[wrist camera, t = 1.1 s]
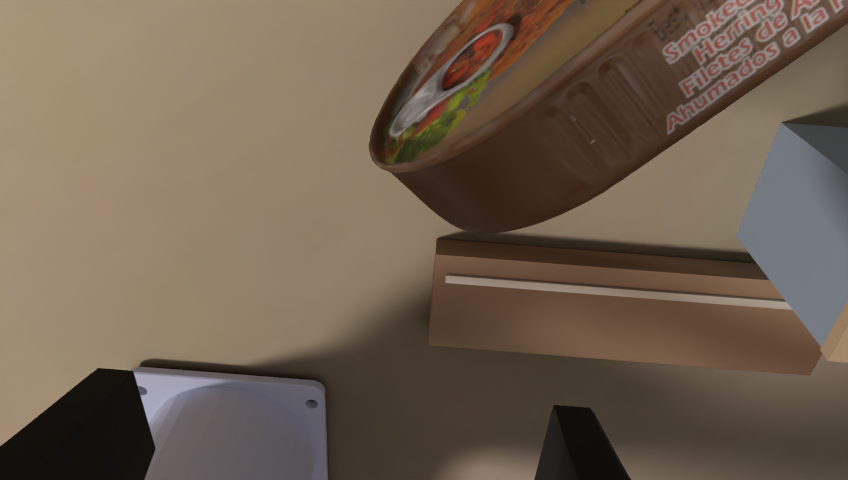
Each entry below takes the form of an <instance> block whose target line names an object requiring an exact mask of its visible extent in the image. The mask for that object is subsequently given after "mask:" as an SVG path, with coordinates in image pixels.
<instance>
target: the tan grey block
mask: <svg viewBox="0 0 848 480" xmlns="http://www.w3.org/2000/svg"><path fill="white" fill-rule="evenodd" d="M736 237H737V238H738V239H739V241H740V242H741V243H742V245H743V246H744V247H745V248H746V250H747V251H748V252H749V254H750V255H751V256H752V258H753V259H754V260H755V262H756V263H757V264H758V265H759V267H760V268H761V269H762V271H763V272H764V273H765V275H766V276H767V277H768V278H769V280H770V281H771V282H772V284H773V285H774V286H775V288H776V289H777V290H778V291H779V293H780V294H781V295H782V297H783V298H784V299H785V301H786V302H787V303H788V305H789V306H790V307H791V308H792V310H793V311H794V312H795V314H796V315H797V316H798V318H799V319H800V320H801V321H802V323H803V324H804V325H805V327H806V328H807V329H808V331H809V332H810V333H811V334H812V336H813V337H814V338H815V340H816V341H817V342H818V344H819V345H820V346H821V349H820V351H821V352H822V354H823V355H824V356H825V358H826V359H827V360H828V361H833V362H846V363H848V128H846V127H833V126H820V125H807V124H794V123H780V126H779V128H778V131H777V133H776V136H775V138H774V141H773V143H772V146H771V148H770V151H769V153H768V156H767V158H766V161H765V163H764V166H763V168H762V171H761V173H760V176H759V178H758V181H757V183H756V186H755V188H754V191H753V193H752V196H751V198H750V201H749V203H748V206H747V208H746V211H745V213H744V216H743V218H742V221H741V223H740V226H739V228H738V231H737V233H736Z"/></svg>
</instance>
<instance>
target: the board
mask: <svg viewBox="0 0 848 480" xmlns="http://www.w3.org/2000/svg"><path fill="white" fill-rule="evenodd" d="M428 346H440V347H453V348H465V349H478V350H491V351H504V352H517V353H529V354H542V355H555V356H568V357H581V358H594V359H606V360H619V361H632V362H645V363H658V364H670V365H683V366H696V367H709V368H722V369H734V370H747V371H760V372H773V373H786V374H798V375H810V374H811V373H812V371H813V369H814V367H815V365H816V364H817V362H818V360H819V358H820V357H821V355H822V352H821V351H820V349H821V346H820V345H819V344H818V342H817V341H816V340H815V338H814V337H813V336H812V334H811V333H810V332H809V331H808V329H807V328H806V327H805V325H804V324H803V323H802V321H801V320H800V319H799V318H798V316H797V315H796V314H795V312H794V311H793V310H792V308H791V307H790V306H789V305H788V303H787V302H786V301H785V299H784V298H783V297H782V295H781V294H780V293H779V291H778V290H777V289H776V288H775V286H774V285H773V284H772V282H771V281H770V280H769V278H768V277H767V276H766V275H765V273H764V272H763V271H762V269H761V268H760V267H759V265H758V264H757V263H745V262H732V261H719V260H706V259H693V258H680V257H667V256H654V255H641V254H629V253H616V252H603V251H590V250H577V249H564V248H551V247H538V246H525V245H512V244H499V243H487V242H474V241H461V240H448V239H437V242H436V253H435V265H434V276H433V287H432V299H431V310H430V321H429V335H428Z"/></svg>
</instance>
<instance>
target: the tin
mask: <svg viewBox="0 0 848 480" xmlns="http://www.w3.org/2000/svg"><path fill="white" fill-rule="evenodd" d="M847 23H848V0H463V1H462V2H461V3H460V4H459V5H458V6H457V7H456V8H455V10H454V11H453V12H452V13H451V14H450V15H449V16H448V17H447V18H446V20H445V21H444V22H443V23H442V24H441V25H440V26H439V27H438V28H437V30H436V31H435V32H434V33H433V34H432V35H431V36H430V38H429V39H428V40H427V41H426V42H425V43H424V45H423V46H422V47H421V48H420V50H419V51H418V52H417V54H416V55H415V56H414V57H413V58H412V59H411V61H410V63H409V64H408V66H407V67H406V69H405V70H404V71H403V73H402V74H401V75H400V77H399V79H398V80H397V82H396V84H395V85H394V87H393V88H392V90H391V91H390V93H389V95H388V97H387V98H386V100H385V102H384V104H383V106H382V108H381V110H380V113H379V114H378V116H377V118H376V120H375V123H374V126H373V128H372V132H371V135H370V142H369V151H370V156H371V158H372V160H373V162H374V163H375V164H376V165H377V166H378V167H380V168H381V169H383V170H386V171H389V172H391V173H392V174H393V175H394V176H395V177H396V178H398V179H399V180H400V181H401V182H402V183H403V184H404V185H405V186H406V187H407V188H408V189H409V190H411V191H412V192H413V193H414V194H415V195H416V196H417V197H418V198H419V199H420V200H421V201H422V202H423V203H425V204H426V205H427V206H428V207H429V208H430V209H432V210H433V211H434V212H435V213H436V214H437V215H439V216H440V217H442V218H443V219H444V220H446V221H447V222H449V223H450V224H452V225H454V226H456V227H458V228H460V229H463V230H466V231H471V232H477V233H499V232H507V231H512V230H517V229H521V228H525V227H528V226H532V225H535V224H538V223H541V222H544V221H546V220H549V219H551V218H554V217H556V216H559V215H561V214H563V213H565V212H567V211H569V210H571V209H573V208H575V207H577V206H580V205H582V204H584V203H585V202H587V201H589V200H591V199H593V198H594V197H596V196H598V195H600V194H601V193H603V192H605V191H606V190H608V189H609V188H610V187H612V186H613V185H615V184H616V183H618V182H620V181H621V180H623V179H624V178H626V177H627V176H628V175H630V174H631V173H633V172H634V171H636V170H637V169H639V168H640V167H641V166H643V165H644V164H646V163H647V162H649V161H650V160H652V159H653V158H654V157H656V156H657V155H659V154H660V153H661V152H663V151H664V150H666V149H667V148H669V147H670V146H672V145H673V144H675V143H676V142H678V141H679V140H681V139H682V138H684V137H685V136H686V135H688V134H689V133H691V132H692V131H693V130H695V129H696V128H697V127H699V126H701V125H702V124H704V123H705V122H707V121H708V120H709V119H711V118H712V117H713V116H715V115H717V114H718V113H720V112H721V111H723V110H724V109H725V108H727V107H728V106H730V105H731V104H732V103H734V102H735V101H737V100H738V99H739V98H741V97H742V96H744V95H745V94H746V93H748V92H749V91H751V90H752V89H754V88H755V87H757V86H759V85H760V84H761V83H763V82H764V81H765V80H767V79H768V78H769V77H771V76H772V75H774V74H775V73H777V72H778V71H780V70H782V69H783V68H784V67H786V66H787V65H789V64H790V63H792V62H793V61H794V60H796V59H797V58H799V57H800V56H801V55H803V54H804V53H806V52H807V51H808V50H810V49H811V48H813V47H814V46H816V45H817V44H819V43H820V42H822V41H823V40H824V39H826V38H827V37H829V36H830V35H831V34H833V33H834V32H836V31H837V30H838V29H840V28H841V27H843V26H844V25H845V24H847Z"/></svg>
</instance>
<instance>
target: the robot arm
mask: <svg viewBox="0 0 848 480" xmlns="http://www.w3.org/2000/svg"><path fill="white" fill-rule="evenodd" d="M143 387H144V388H143ZM311 400H315V401H311ZM0 480H328V459H327V429H326V400H325V388H324V386H323V385H322V384H321V383H320V382H318V381H314V380H304V379H291V378H278V377H265V376H253V375H240V374H227V373H214V372H201V371H189V370H176V369H163V368H150V367H135V368H132V369H131V371H128V370H115V369H103V368H98V369H97V370H95V371H94V372H93V373H91V374H90V375H89V376H88V377H86V378H85V379H84V380H82V381H81V382H80V383H79V384H77V385H76V386H75V387H74V388H73V389H71V390H70V391H69V392H68V393H66V394H65V395H64V396H63V397H61V398H60V399H59V400H58V401H56V402H55V403H54V404H53V405H51V406H50V407H49V408H48V409H47V410H45V411H44V412H43V413H42V414H40V415H39V416H38V417H37V418H35V419H34V420H33V421H32V422H30V423H29V424H28V425H27V426H25V427H24V428H23V429H22V430H20V431H19V432H18V433H17V434H15V435H14V436H13V437H12V438H10V439H9V440H8V441H7V442H5V443H4V444H3V445H1V446H0ZM535 480H631V479H630V477H629V476H628V474H627V472H626V470H625V469H624V467H623V465H622V463H621V462H620V460H619V458H618V456H617V455H616V453H615V451H614V449H613V447H612V445H611V444H610V442H609V440H608V438H607V436H606V434H605V432H604V431H603V429H602V427H601V425H600V423H599V421H598V419H597V417H596V415H595V413H594V412H593V411H592V410H591V409H590V408H584V407H572V406H559V405H554V406H553V409H552V413H551V417H550V421H549V425H548V429H547V433H546V437H545V441H544V445H543V449H542V452H541V456H540V460H539V464H538V468H537V472H536V476H535Z"/></svg>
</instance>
